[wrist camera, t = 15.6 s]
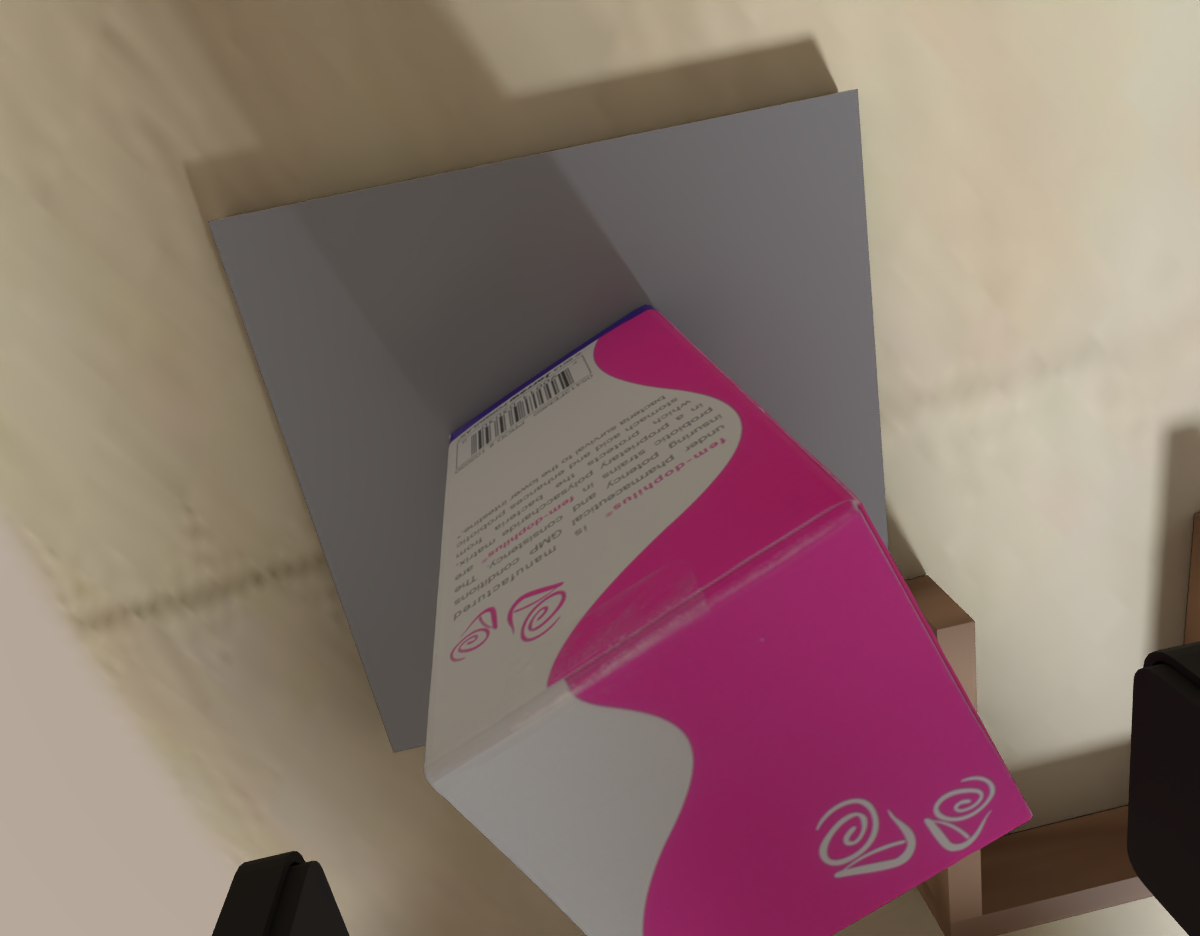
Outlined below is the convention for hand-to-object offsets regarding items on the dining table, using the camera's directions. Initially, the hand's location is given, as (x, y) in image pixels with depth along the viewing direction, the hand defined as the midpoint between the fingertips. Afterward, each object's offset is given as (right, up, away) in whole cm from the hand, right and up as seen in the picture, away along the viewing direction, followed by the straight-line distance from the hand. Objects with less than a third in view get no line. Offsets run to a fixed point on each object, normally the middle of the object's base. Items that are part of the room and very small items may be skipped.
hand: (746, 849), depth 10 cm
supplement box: (-1, +5, +11) cm, 12 cm away
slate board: (-2, +5, +12) cm, 13 cm away
